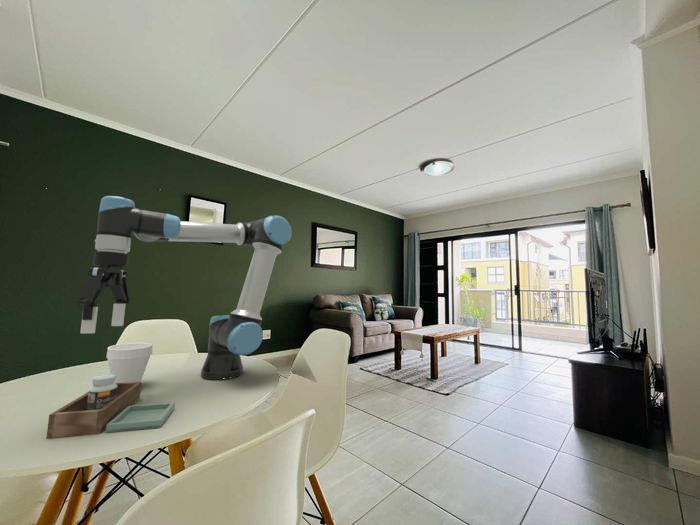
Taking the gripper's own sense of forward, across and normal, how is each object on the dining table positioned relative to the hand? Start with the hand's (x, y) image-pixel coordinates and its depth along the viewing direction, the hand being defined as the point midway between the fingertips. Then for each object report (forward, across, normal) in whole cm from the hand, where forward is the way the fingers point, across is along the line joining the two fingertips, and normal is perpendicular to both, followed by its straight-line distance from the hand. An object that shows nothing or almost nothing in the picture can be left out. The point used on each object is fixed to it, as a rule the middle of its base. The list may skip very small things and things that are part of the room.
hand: (103, 329), depth 77 cm
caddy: (+22, +2, +2) cm, 22 cm away
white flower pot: (+22, -20, -2) cm, 30 cm away
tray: (+22, +6, +14) cm, 27 cm away
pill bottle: (+22, +2, +2) cm, 22 cm away
